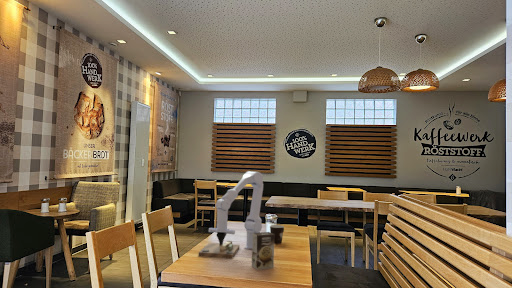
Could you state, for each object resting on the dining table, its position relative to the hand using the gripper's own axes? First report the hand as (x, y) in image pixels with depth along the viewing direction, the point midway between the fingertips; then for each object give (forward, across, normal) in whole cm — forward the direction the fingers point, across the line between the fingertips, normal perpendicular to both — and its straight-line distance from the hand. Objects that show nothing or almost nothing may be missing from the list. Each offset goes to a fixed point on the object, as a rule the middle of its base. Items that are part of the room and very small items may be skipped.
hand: (221, 246), depth 189 cm
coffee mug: (+3, +25, +35) cm, 43 cm away
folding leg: (+1, +2, +3) cm, 4 cm away
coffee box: (+4, +27, -15) cm, 31 cm away
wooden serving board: (+3, -1, +2) cm, 4 cm away
